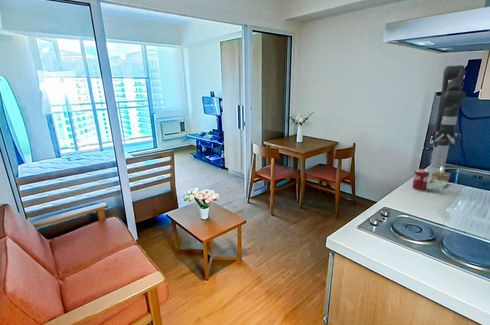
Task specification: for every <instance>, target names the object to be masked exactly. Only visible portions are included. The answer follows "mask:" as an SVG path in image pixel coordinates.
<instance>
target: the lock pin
mask: <svg viewBox="0 0 490 325" xmlns="http://www.w3.org/2000/svg"><path fill="white" fill-rule="evenodd" d="M445 170H446V165H445V166H440V167H439V170H438V171H439V174H444V172H446V171H445Z"/></svg>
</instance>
